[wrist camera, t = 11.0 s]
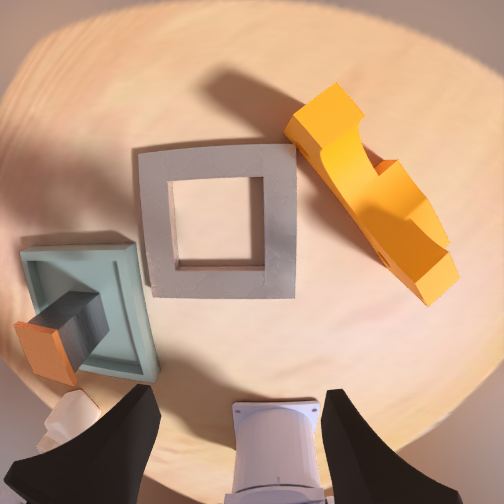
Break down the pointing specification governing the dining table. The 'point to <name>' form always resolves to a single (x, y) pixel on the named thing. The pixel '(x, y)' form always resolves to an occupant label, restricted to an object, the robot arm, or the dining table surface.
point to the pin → (64, 335)
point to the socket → (275, 221)
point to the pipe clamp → (375, 194)
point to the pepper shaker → (68, 420)
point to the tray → (113, 298)
